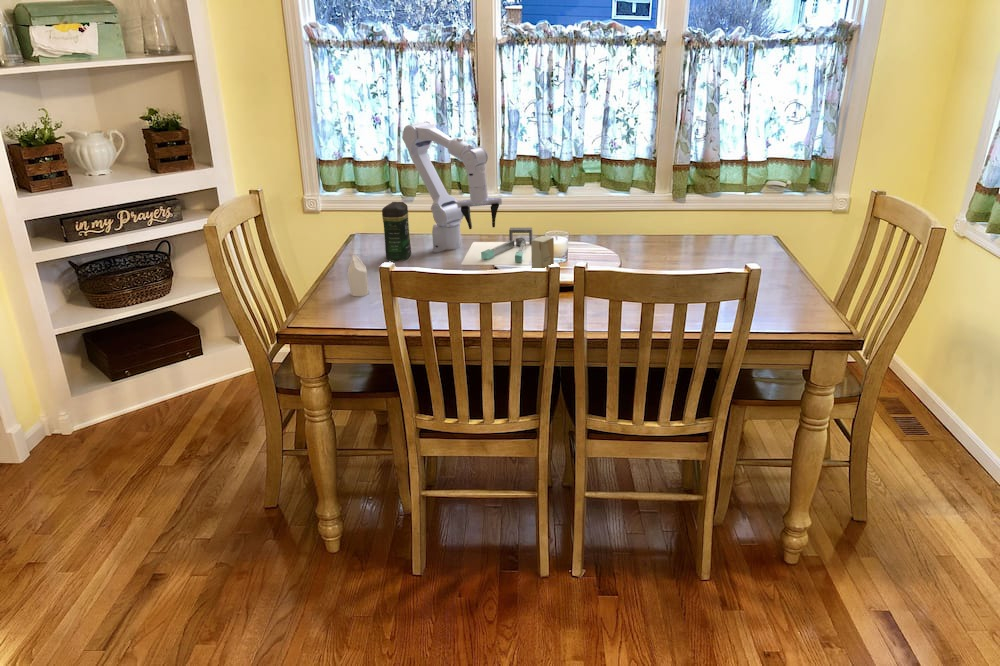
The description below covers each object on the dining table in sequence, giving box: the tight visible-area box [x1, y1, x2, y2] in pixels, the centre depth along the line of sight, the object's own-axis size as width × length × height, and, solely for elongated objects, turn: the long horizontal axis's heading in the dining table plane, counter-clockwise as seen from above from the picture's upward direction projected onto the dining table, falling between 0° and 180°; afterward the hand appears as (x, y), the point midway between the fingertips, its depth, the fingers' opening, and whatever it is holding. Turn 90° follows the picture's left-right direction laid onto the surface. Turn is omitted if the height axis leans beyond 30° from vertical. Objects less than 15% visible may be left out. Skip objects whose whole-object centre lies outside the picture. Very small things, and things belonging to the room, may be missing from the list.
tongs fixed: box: [515, 237, 527, 262], centre depth 261 cm, size 20×4×2 cm, turn 173°
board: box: [460, 241, 532, 266], centre depth 263 cm, size 22×25×1 cm
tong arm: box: [481, 239, 515, 260], centre depth 262 cm, size 16×2×2 cm, turn 145°
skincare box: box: [531, 235, 555, 269], centre depth 240 cm, size 6×4×12 cm
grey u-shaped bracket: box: [508, 227, 533, 244], centre depth 270 cm, size 3×8×5 cm, turn 83°
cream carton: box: [347, 254, 370, 297], centre depth 233 cm, size 6×12×6 cm
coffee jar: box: [381, 201, 412, 262], centre depth 262 cm, size 10×8×19 cm
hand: (482, 227), depth 259 cm, fingers open, 7 cm apart
